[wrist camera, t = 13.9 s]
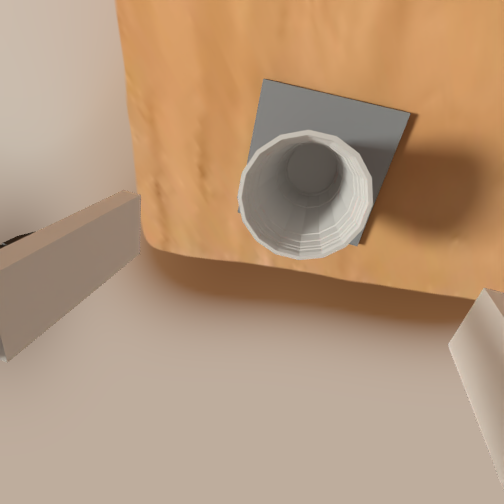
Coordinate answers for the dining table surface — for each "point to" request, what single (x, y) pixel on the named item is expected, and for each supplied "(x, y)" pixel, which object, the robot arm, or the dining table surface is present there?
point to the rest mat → (331, 125)
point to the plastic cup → (305, 195)
